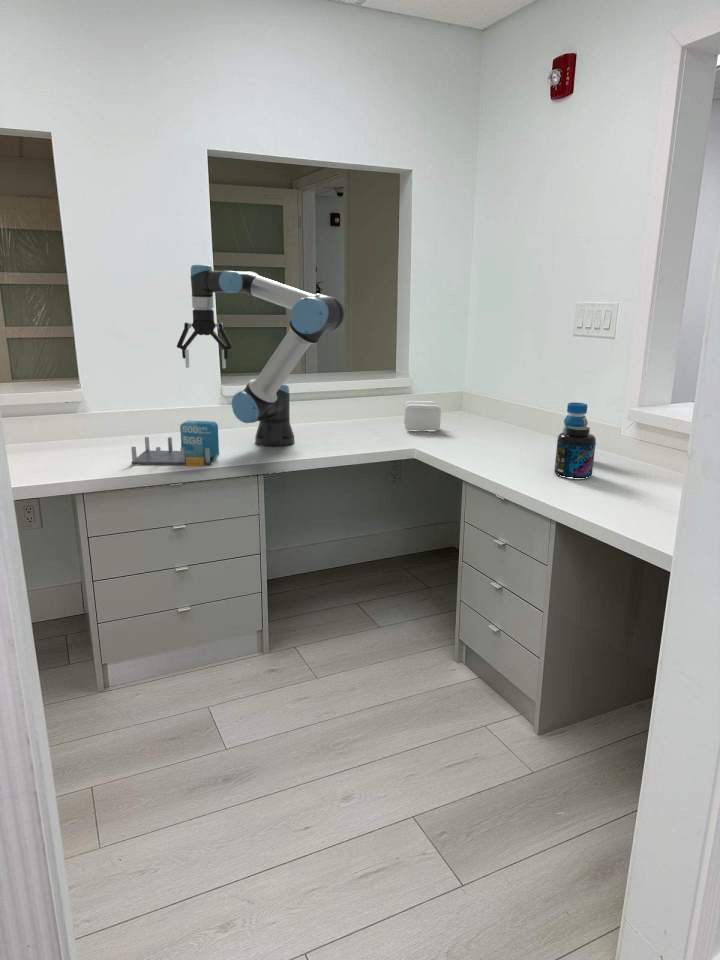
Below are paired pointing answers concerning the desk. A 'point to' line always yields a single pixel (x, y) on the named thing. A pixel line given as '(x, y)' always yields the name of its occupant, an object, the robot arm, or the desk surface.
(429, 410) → the cable organizer
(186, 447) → the data package
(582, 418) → the beverage bottle
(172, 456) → the panel rack
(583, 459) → the container
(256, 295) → the robot arm
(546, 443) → the desk surface
